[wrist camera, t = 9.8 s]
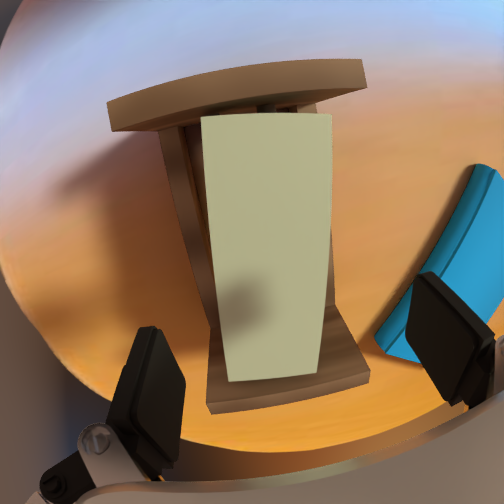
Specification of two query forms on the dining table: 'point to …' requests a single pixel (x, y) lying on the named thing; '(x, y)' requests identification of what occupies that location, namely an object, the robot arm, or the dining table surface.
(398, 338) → the book
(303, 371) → the pale green block
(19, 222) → the dining table surface
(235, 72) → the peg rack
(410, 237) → the dining table surface
